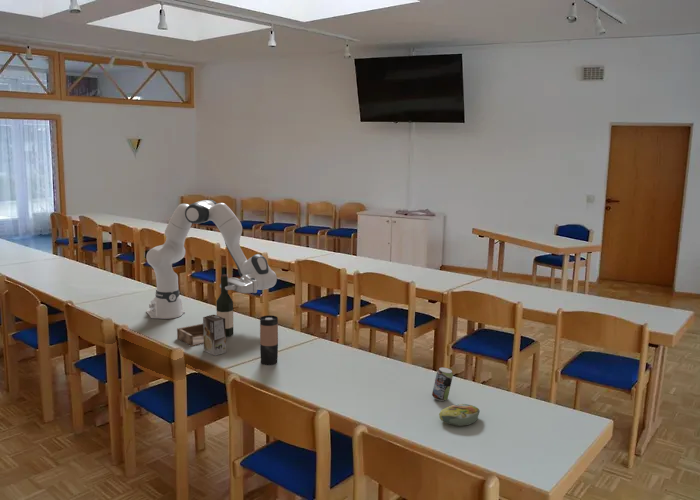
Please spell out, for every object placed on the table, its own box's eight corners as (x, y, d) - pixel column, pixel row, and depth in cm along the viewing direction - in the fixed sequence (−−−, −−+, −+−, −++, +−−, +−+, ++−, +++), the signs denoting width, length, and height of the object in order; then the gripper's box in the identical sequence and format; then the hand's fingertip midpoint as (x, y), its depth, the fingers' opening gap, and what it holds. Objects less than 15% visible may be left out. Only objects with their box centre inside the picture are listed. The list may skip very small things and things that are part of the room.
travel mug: (280, 360, 269) (280, 316, 265) (273, 366, 262) (273, 321, 258) (265, 358, 271) (264, 314, 268) (257, 364, 264) (256, 319, 260)
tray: (177, 338, 295) (177, 328, 294) (204, 332, 304) (204, 323, 303) (191, 346, 284) (190, 336, 283) (219, 340, 293) (218, 330, 293)
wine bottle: (235, 332, 306) (235, 273, 301) (231, 337, 298) (230, 277, 293) (219, 331, 307) (218, 272, 302) (214, 336, 299) (213, 276, 293)
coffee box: (226, 352, 277) (226, 318, 274) (214, 356, 273) (214, 321, 270) (214, 347, 283) (214, 314, 280) (203, 350, 279) (202, 316, 276)
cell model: (431, 412, 216) (464, 390, 221) (440, 431, 217) (472, 409, 222) (447, 418, 206) (481, 396, 211) (456, 439, 207) (490, 415, 212)
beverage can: (430, 395, 235) (431, 366, 233) (449, 395, 236) (450, 365, 234) (433, 402, 229) (435, 372, 227) (453, 402, 230) (454, 372, 227)
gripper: (236, 273, 314) (212, 276, 305) (258, 280, 298) (233, 284, 290) (236, 285, 315) (212, 289, 306) (258, 293, 300) (233, 297, 291)
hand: (222, 287), depth 298 cm, fingers closed on wine bottle, 3 cm apart
